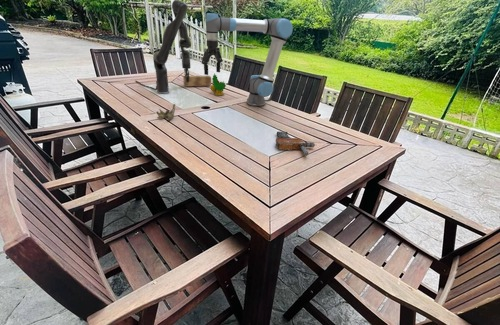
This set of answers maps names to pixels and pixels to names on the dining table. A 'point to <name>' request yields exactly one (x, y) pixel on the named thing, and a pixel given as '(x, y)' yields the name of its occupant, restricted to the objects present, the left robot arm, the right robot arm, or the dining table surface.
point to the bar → (197, 80)
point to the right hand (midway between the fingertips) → (212, 73)
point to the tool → (291, 143)
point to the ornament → (217, 86)
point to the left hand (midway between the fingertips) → (187, 81)
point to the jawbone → (166, 113)
